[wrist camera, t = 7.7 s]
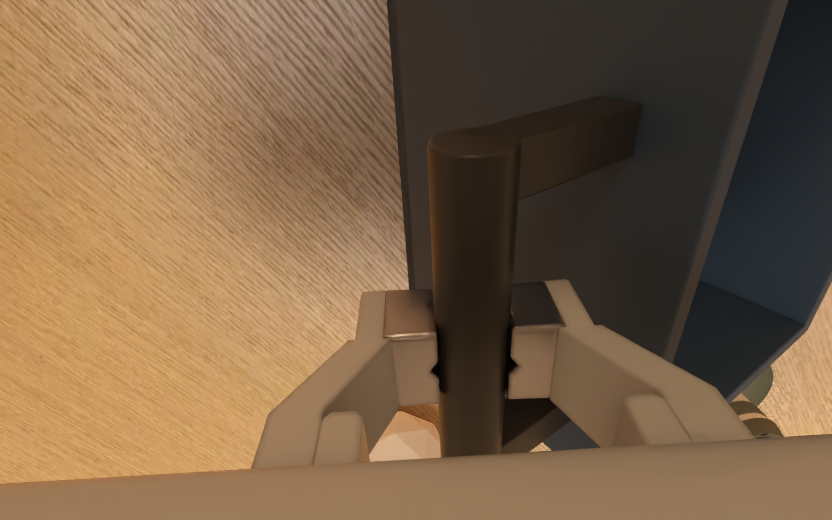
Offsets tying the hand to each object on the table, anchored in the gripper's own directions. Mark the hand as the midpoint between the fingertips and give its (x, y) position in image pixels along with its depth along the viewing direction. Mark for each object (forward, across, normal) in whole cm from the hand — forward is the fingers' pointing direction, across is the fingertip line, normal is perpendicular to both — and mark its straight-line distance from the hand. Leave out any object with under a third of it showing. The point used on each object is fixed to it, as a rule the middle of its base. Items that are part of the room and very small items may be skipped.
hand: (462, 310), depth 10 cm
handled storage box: (+9, -2, 0) cm, 10 cm away
